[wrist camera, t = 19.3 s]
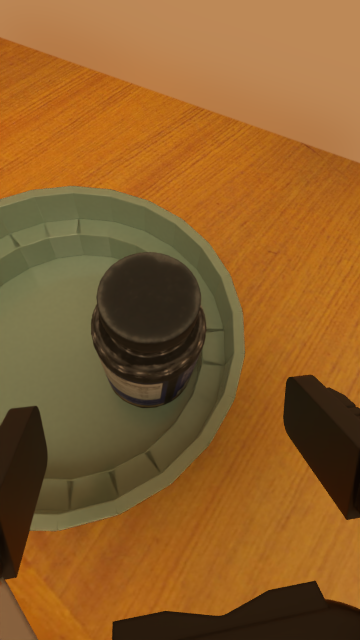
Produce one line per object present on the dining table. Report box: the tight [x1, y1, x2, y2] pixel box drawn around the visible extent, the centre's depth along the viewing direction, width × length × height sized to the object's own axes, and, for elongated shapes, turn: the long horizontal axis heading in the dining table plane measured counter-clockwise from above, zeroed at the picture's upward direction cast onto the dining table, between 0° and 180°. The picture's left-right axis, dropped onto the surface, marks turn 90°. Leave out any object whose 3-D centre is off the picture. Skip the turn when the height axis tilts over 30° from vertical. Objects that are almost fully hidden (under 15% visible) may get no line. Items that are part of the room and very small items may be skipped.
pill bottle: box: [91, 252, 207, 408], centre depth 20 cm, size 6×6×11 cm
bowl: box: [0, 186, 245, 531], centre depth 23 cm, size 21×21×6 cm
